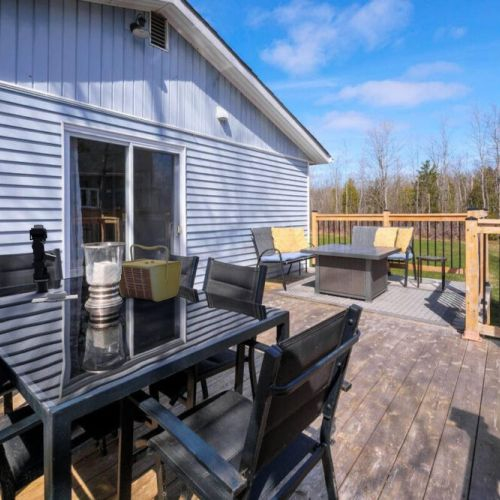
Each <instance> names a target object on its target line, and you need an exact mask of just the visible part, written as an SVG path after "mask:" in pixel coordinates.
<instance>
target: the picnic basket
mask: <svg viewBox="0 0 500 500" xmlns="http://www.w3.org/2000/svg"><path fill="white" fill-rule="evenodd" d="M133 247H139V248H140V249H143V250H147V251H152V250H154V251H155V250H157V249H159V248H161V249H162V248H164V249H165V251H166V253H165V260H159V259H147V258H139V259H134V254H133ZM129 253H130V260H126V261H121V262H122V274H121V280H120V282H119V285H118V288H119V289H118V290H119V294H120V296H122V297H124V298H135V299H140V300H147V301H153V302H157V303H159V302H161V301H164V300H168V299H172V298H174V297H176V296H177V295H178V294H179V292H180V291H179V290H180V283H181V277H182V276H181V275H182V269H183V263H182V261H180V260H177V261H174V260H169V254H170V251H169V247H167V246H165V245H155V246H146V245H142V244H134V243H133V244H131V245H130V247H129Z"/></svg>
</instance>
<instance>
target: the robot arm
mask: <svg viewBox="0 0 500 500" xmlns="http://www.w3.org/2000/svg"><path fill="white" fill-rule="evenodd" d="M47 239H48V230H47V229H46V228H45V227H44V224H33V227H31V228H30V229H29V241H32V243H31V246H30V247H31V249H32V257H33V258H32V262H31V267H32V268H34V269H33V272H32V278H33V279H32V280H33V283H34V284H36V291H35V294H39V293H40V294H41V293H49V291H50V289H49V288H48V286H49V285H48V283H49V282H52V275H51V273H50V272H49V270H48V267H47V265H46V264H47V261H50V262H52V263H55V262H56V258H57V255H55V253H54V252H50V253H46V252H47V251H46V250H45V244H46V242H47Z"/></svg>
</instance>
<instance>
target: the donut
mask: <svg viewBox="0 0 500 500" xmlns="http://www.w3.org/2000/svg"><path fill="white" fill-rule="evenodd" d="M66 296H68V293H67V291H65V290H55V291H54V290H53V291H50V292H49V291H48V292H47V294H46V298H48V299H61V298H64V297H66Z"/></svg>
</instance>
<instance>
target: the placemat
mask: <svg viewBox="0 0 500 500" xmlns="http://www.w3.org/2000/svg"><path fill="white" fill-rule="evenodd" d="M76 299H79V297H78V294H70V295H67V296H66V297H64V298H61V299H48V298H47V297H40V298H33V299H32V300H31V304H36V302H39V303H45V302H44V301H48V302H56V300H58V301H65V300H76Z"/></svg>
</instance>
